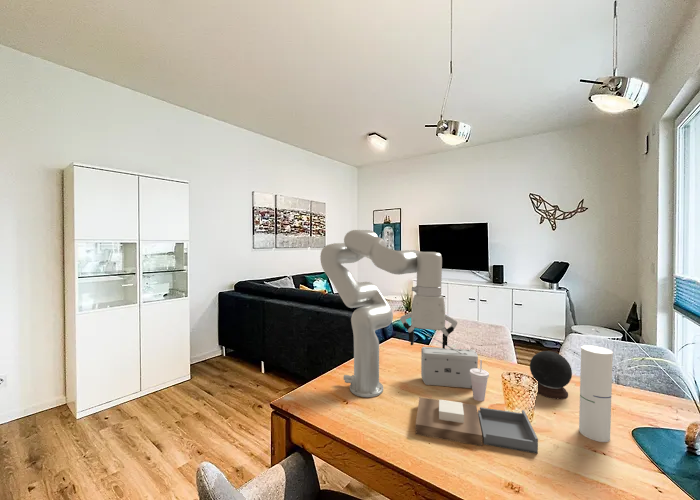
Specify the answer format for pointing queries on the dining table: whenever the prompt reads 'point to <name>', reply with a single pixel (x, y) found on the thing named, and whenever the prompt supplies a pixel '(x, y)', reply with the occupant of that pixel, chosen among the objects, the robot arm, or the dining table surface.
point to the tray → (507, 430)
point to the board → (448, 423)
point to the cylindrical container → (595, 392)
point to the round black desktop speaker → (551, 374)
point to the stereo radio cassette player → (447, 366)
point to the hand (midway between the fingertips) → (427, 345)
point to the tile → (451, 411)
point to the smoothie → (479, 382)
